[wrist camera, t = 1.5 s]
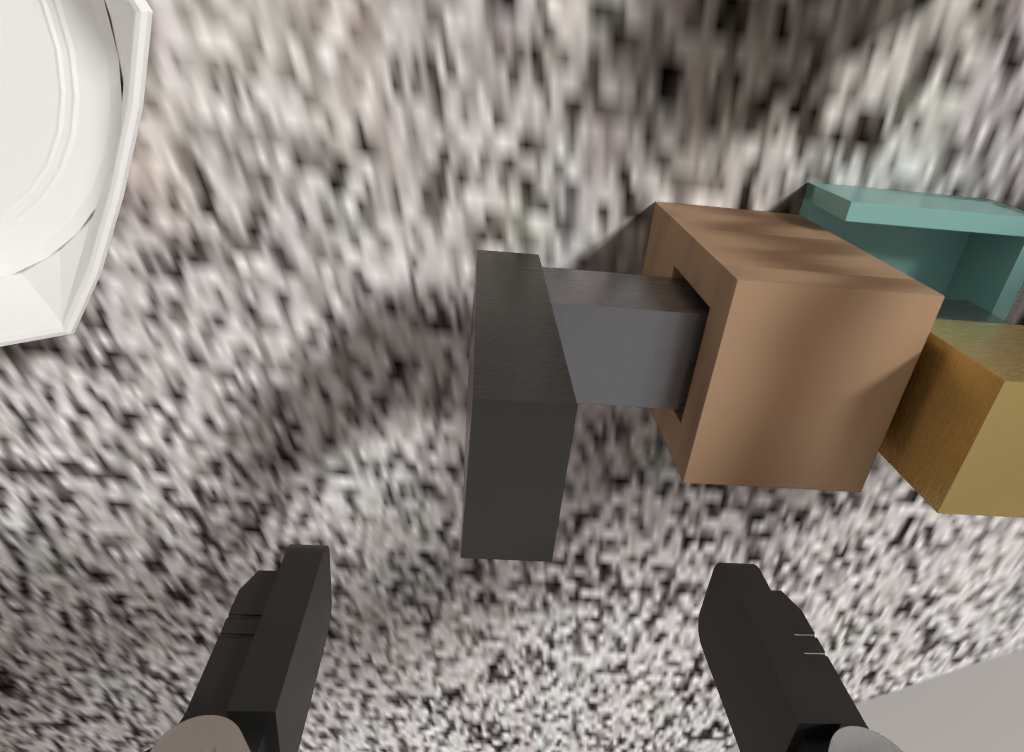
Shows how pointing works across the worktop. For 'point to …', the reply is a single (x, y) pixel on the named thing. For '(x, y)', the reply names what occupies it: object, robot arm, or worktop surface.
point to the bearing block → (786, 348)
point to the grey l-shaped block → (567, 382)
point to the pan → (64, 152)
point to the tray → (930, 238)
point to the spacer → (964, 420)
